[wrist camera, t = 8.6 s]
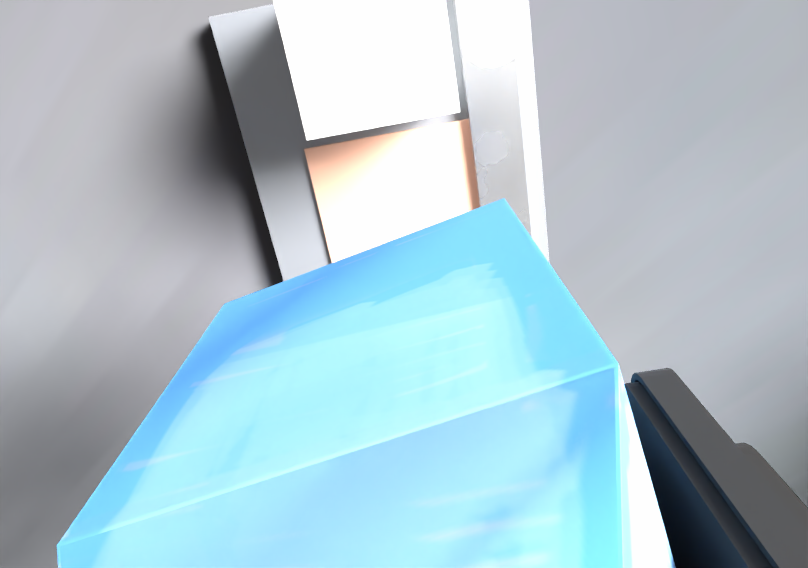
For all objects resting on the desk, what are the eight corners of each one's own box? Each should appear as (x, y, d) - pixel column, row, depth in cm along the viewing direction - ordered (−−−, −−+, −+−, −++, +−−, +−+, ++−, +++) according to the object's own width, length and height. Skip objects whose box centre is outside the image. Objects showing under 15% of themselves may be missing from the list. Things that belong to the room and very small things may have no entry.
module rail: (552, 359, 28) (590, 436, 23) (321, 395, 29) (303, 477, 23) (519, -42, 21) (561, -75, 16) (216, 18, 22) (154, 8, 16)
